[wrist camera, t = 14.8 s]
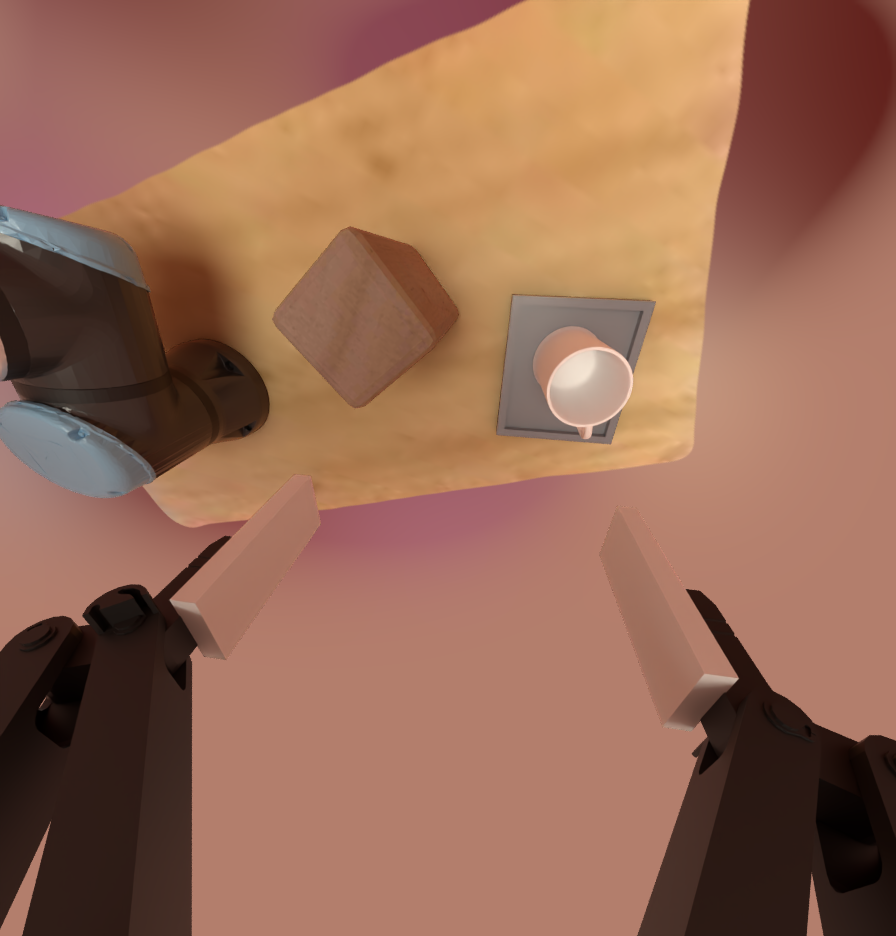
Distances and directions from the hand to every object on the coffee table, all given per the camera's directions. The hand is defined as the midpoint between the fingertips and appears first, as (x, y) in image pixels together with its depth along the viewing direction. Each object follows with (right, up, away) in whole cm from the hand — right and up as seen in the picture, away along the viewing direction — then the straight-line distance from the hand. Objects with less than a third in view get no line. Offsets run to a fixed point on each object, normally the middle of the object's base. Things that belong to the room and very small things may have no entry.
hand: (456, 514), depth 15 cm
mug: (+15, +15, +29) cm, 36 cm away
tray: (+15, +15, +30) cm, 36 cm away
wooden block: (-5, +23, +28) cm, 37 cm away
